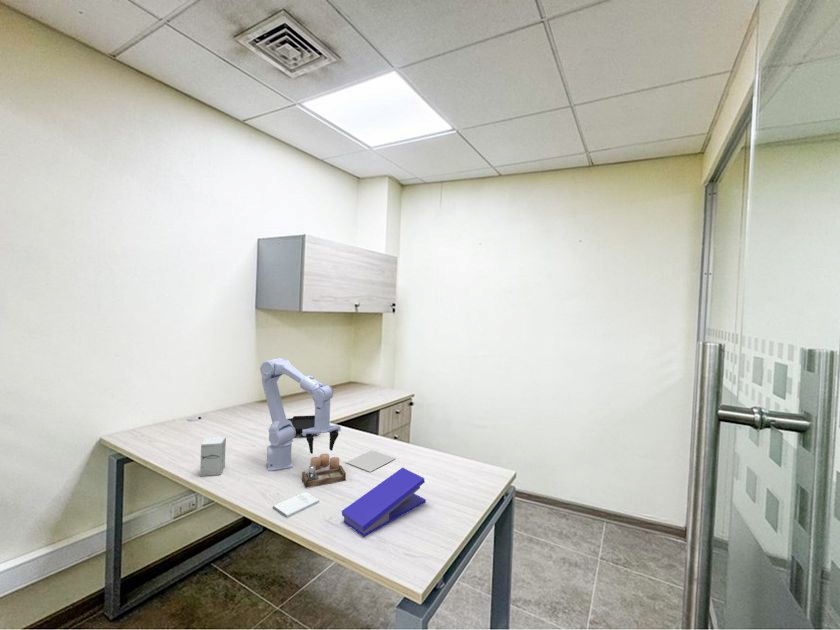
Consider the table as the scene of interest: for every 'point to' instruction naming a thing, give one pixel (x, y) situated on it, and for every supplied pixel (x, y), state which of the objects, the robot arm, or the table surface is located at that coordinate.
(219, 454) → the supplement box
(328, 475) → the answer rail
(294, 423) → the tray
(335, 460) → the peach domed cylinder
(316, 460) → the peach domed capsule
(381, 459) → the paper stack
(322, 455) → the peach rounded cylinder
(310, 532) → the table surface
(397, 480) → the stapler
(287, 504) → the external hard drive
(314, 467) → the slider
